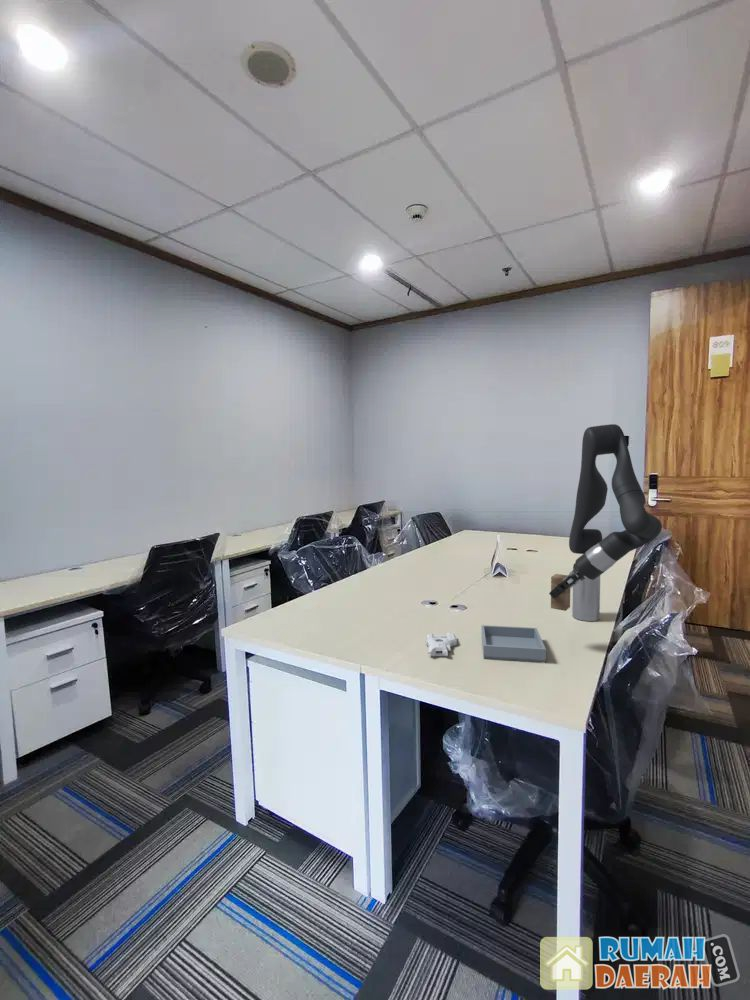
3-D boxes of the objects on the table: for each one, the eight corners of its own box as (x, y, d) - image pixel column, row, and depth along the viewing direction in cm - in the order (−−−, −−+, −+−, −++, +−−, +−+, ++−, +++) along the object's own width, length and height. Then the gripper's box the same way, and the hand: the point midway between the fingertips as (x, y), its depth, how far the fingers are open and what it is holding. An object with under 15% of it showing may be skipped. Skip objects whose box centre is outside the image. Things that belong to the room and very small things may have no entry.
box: (481, 636, 154) (481, 625, 153) (536, 639, 150) (536, 627, 150) (483, 658, 136) (483, 645, 136) (545, 662, 133) (545, 649, 133)
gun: (460, 648, 136) (426, 648, 137) (460, 659, 136) (426, 659, 137) (454, 629, 154) (424, 629, 155) (454, 639, 154) (424, 639, 155)
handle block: (550, 608, 143) (551, 576, 142) (555, 604, 147) (555, 573, 146) (565, 610, 140) (566, 578, 139) (570, 607, 144) (570, 575, 143)
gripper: (593, 547, 143) (553, 579, 151) (580, 555, 132) (537, 589, 140) (611, 566, 140) (569, 597, 148) (600, 575, 129) (555, 609, 137)
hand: (554, 593), depth 144 cm, fingers closed on handle block, 4 cm apart
